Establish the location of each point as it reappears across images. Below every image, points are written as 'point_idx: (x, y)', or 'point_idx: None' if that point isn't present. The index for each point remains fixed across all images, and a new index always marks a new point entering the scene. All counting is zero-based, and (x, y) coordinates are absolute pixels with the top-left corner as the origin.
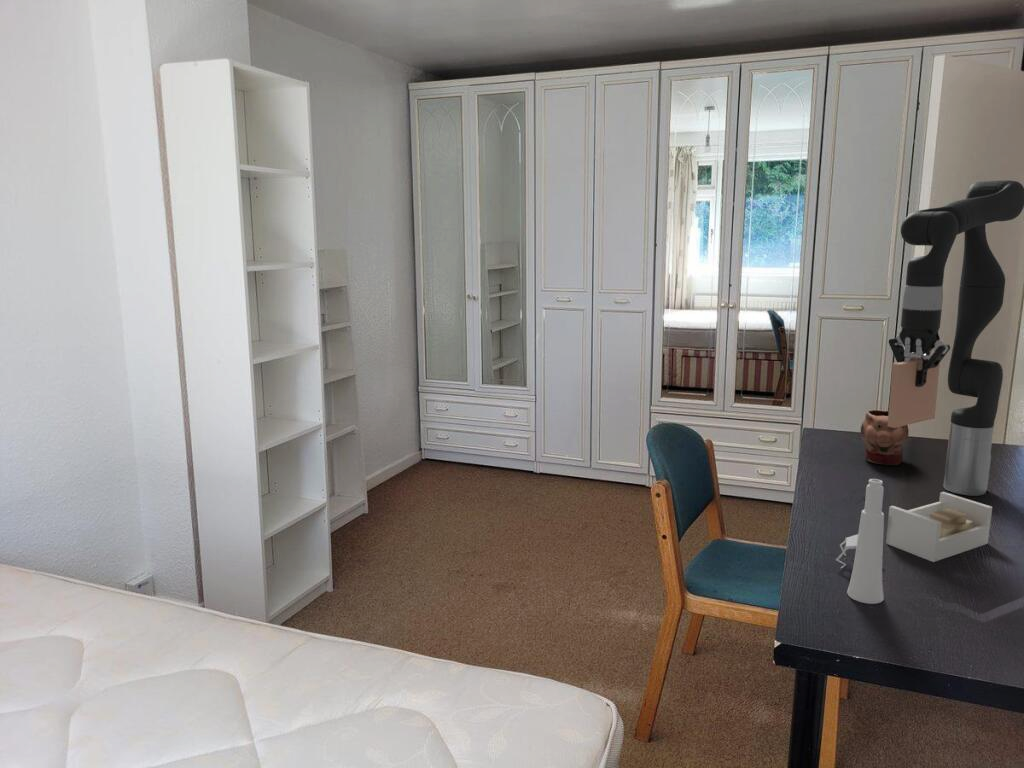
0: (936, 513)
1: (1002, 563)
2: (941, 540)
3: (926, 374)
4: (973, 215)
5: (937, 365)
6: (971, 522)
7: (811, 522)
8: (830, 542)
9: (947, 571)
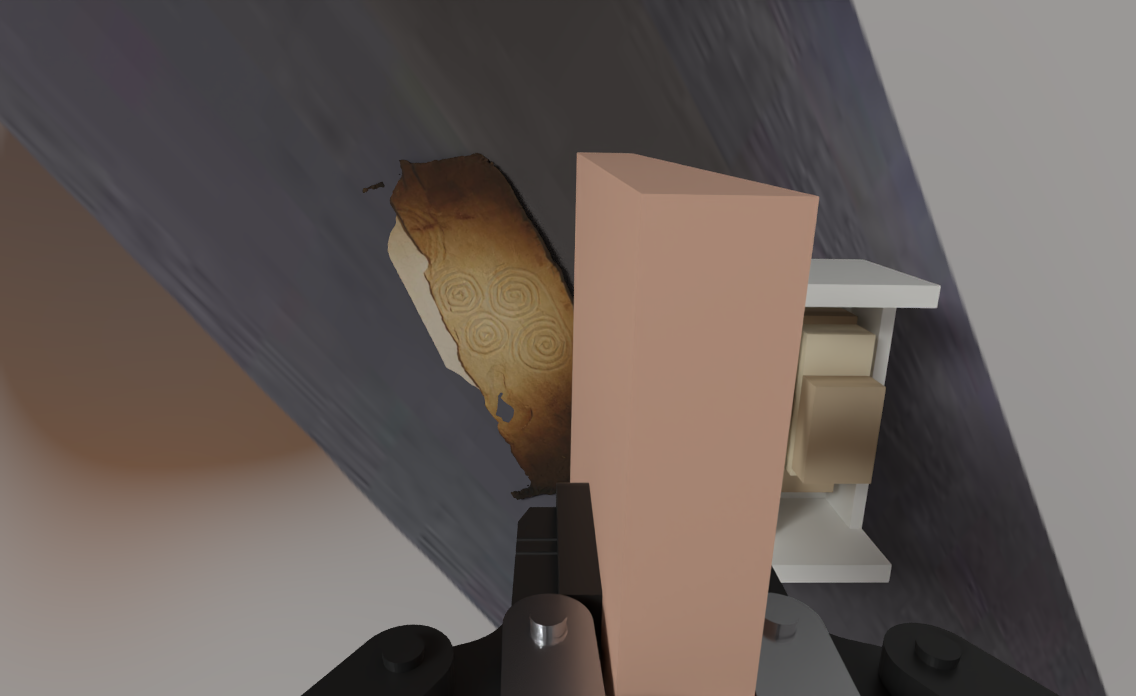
0: (816, 463)
1: (937, 329)
2: (861, 516)
3: (778, 588)
4: None
5: (982, 650)
6: (873, 343)
7: (449, 531)
8: None
9: None
